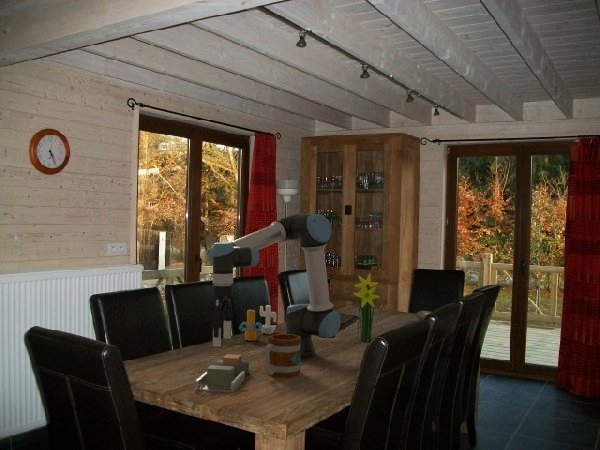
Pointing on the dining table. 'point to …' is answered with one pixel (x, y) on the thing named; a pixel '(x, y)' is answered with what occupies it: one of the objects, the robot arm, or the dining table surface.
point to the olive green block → (220, 375)
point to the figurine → (268, 319)
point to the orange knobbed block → (250, 326)
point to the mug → (283, 355)
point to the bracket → (202, 385)
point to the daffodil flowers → (366, 306)
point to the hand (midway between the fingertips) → (222, 342)
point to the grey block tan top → (235, 364)
